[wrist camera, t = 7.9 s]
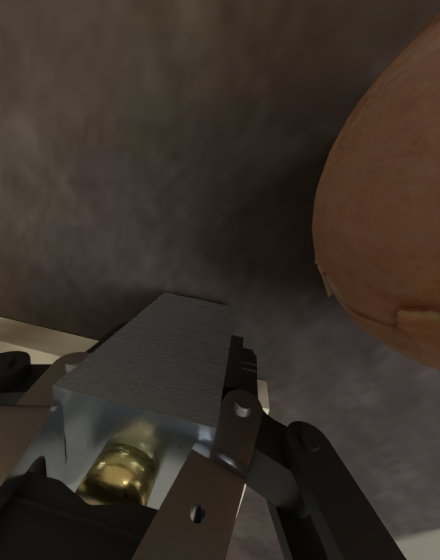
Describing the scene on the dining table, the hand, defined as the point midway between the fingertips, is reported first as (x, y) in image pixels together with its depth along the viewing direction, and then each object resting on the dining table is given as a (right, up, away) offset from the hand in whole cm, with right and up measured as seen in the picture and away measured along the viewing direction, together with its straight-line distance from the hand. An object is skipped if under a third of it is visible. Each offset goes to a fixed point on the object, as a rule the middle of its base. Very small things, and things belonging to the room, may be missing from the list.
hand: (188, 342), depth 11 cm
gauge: (0, -3, +2) cm, 3 cm away
